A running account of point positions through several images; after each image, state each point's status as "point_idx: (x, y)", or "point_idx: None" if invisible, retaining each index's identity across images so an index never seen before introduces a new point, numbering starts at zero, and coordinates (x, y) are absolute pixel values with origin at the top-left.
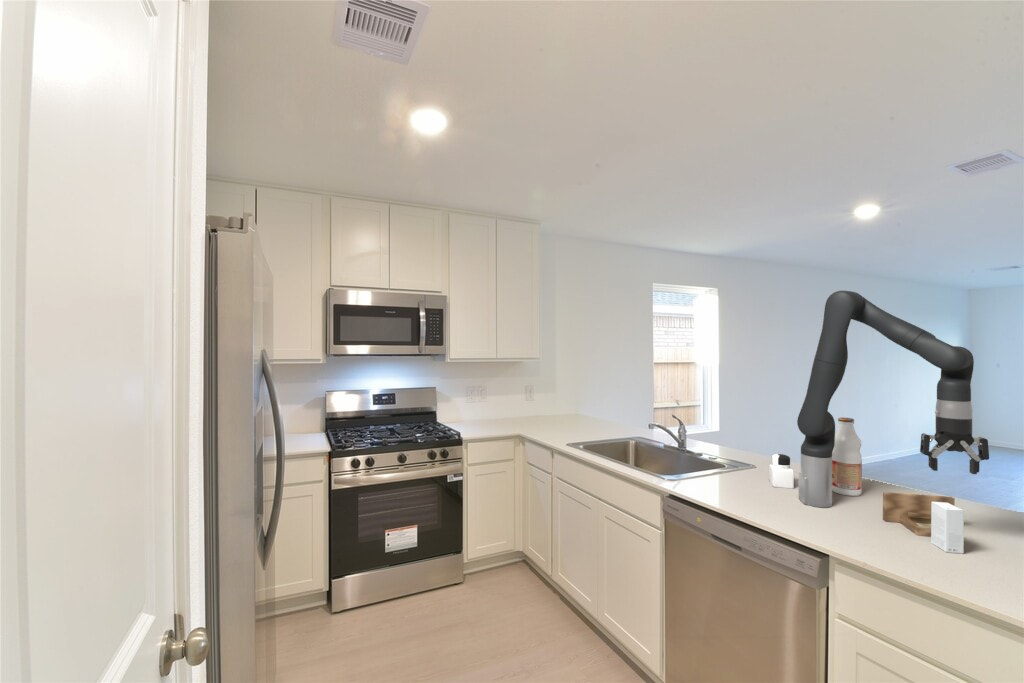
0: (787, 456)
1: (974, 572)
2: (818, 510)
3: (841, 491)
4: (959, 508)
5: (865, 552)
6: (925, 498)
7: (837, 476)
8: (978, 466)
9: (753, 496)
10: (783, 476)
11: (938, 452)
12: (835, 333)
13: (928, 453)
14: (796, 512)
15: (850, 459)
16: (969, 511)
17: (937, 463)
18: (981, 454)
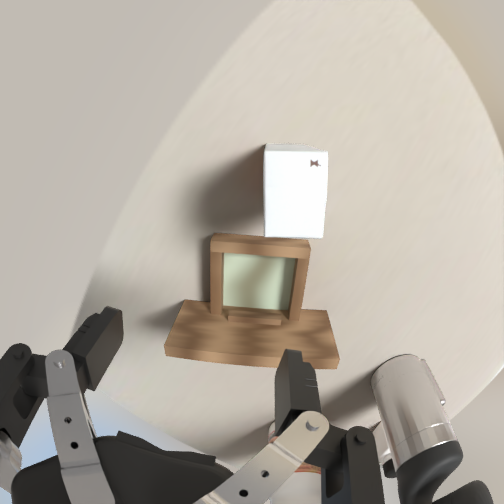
0: (394, 472)
1: (311, 51)
2: (421, 340)
3: None
4: (266, 170)
5: (470, 136)
6: (236, 350)
7: None
8: (78, 334)
9: (471, 370)
10: None
11: (288, 448)
12: None
13: (348, 438)
14: (464, 319)
15: (304, 480)
16: (118, 368)
17: (289, 380)
18: (30, 390)
